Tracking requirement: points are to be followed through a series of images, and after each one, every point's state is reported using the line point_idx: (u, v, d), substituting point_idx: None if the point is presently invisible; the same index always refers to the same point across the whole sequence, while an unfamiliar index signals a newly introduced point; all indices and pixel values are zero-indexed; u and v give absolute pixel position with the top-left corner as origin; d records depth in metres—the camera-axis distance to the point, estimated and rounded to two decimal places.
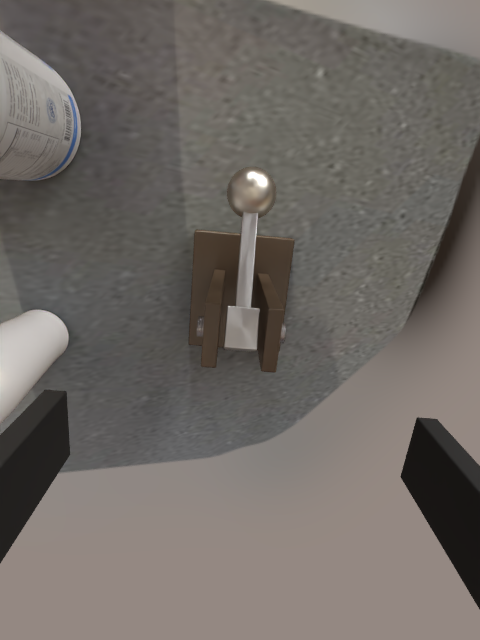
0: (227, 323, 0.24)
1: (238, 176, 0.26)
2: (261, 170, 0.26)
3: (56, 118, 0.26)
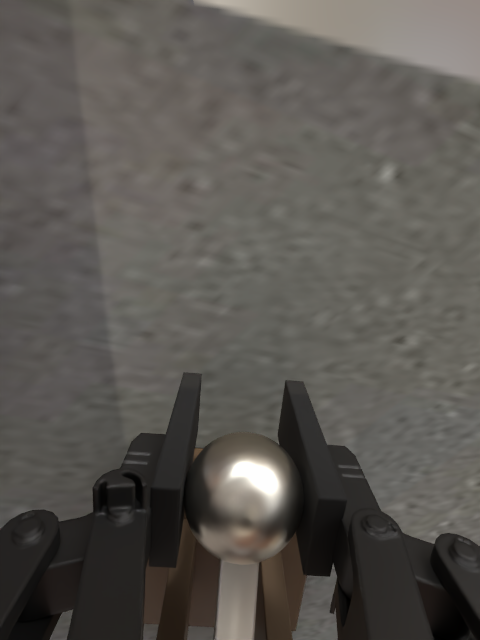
0: None
1: (207, 488, 0.10)
2: (267, 467, 0.10)
3: None
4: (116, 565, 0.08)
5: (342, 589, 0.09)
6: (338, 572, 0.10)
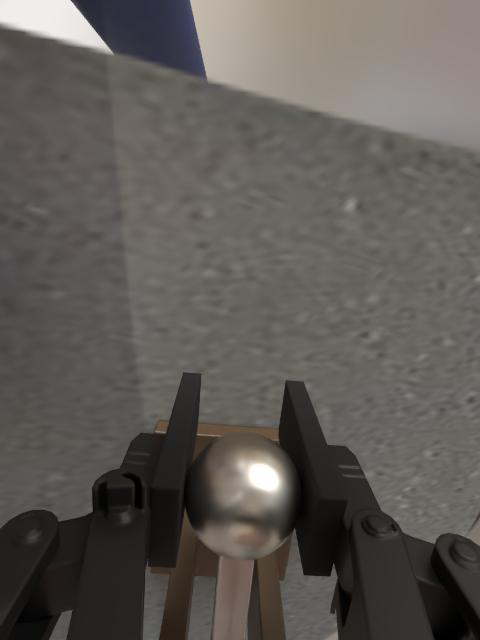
0: None
1: (206, 508, 0.10)
2: (266, 491, 0.10)
3: None
4: (115, 565, 0.08)
5: (343, 589, 0.09)
6: (338, 572, 0.10)
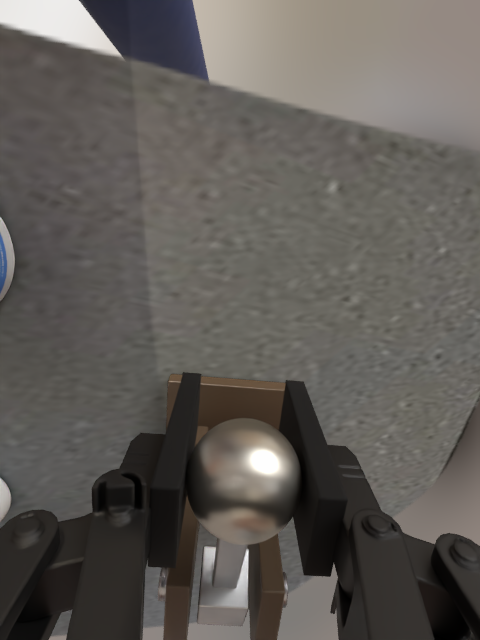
0: (200, 614, 0.17)
1: (205, 512, 0.10)
2: (265, 503, 0.10)
3: None
4: (115, 565, 0.08)
5: (343, 589, 0.10)
6: (339, 572, 0.10)
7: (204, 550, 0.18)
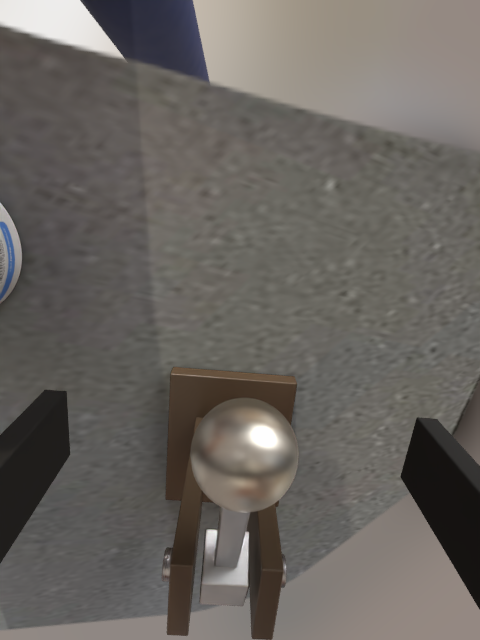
0: (202, 592, 0.17)
1: (209, 480, 0.11)
2: (264, 471, 0.11)
3: None
4: None
5: None
6: None
7: (206, 532, 0.18)
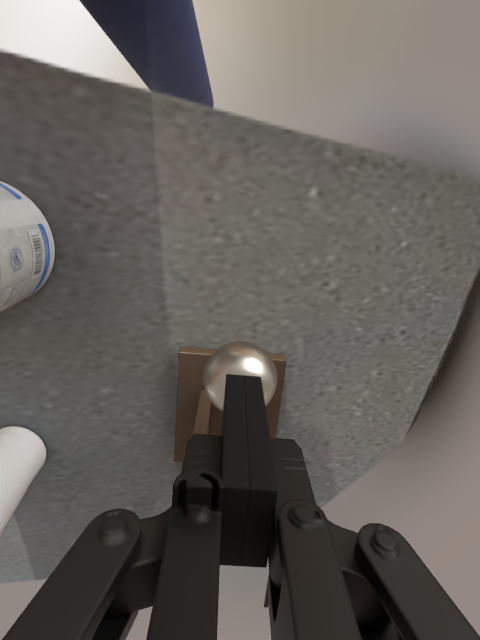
0: None
1: (216, 387, 0.17)
2: None
3: (23, 262, 0.24)
4: (193, 563, 0.08)
5: (274, 583, 0.09)
6: (269, 566, 0.10)
7: None
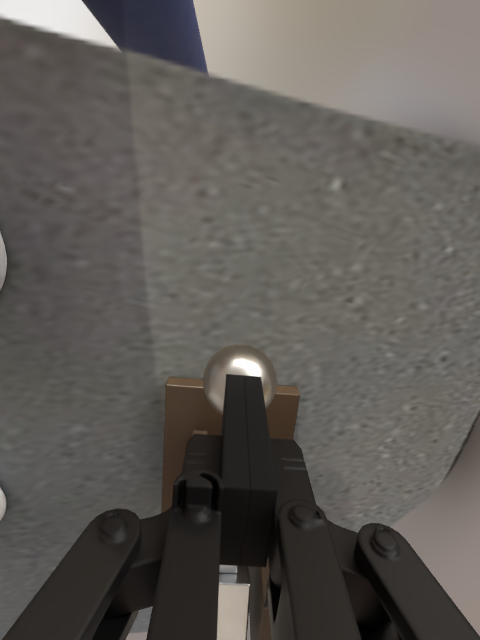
0: None
1: (218, 370, 0.17)
2: (254, 359, 0.17)
3: None
4: (193, 563, 0.08)
5: (274, 583, 0.09)
6: (269, 566, 0.10)
7: None
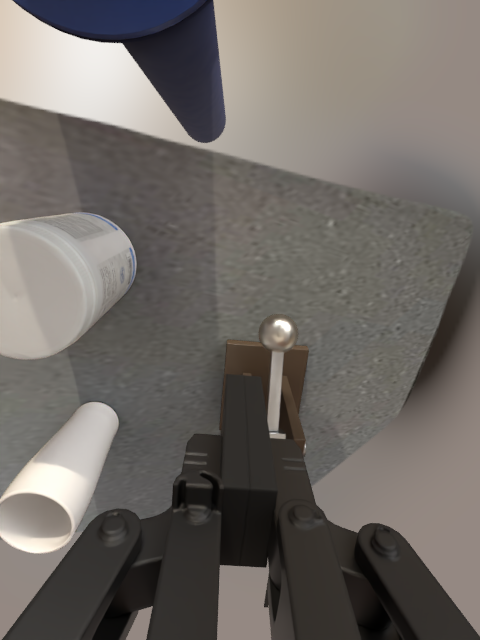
0: None
1: (268, 326, 0.33)
2: (287, 320, 0.33)
3: (124, 277, 0.34)
4: (193, 563, 0.08)
5: (274, 583, 0.09)
6: (269, 566, 0.10)
7: None
